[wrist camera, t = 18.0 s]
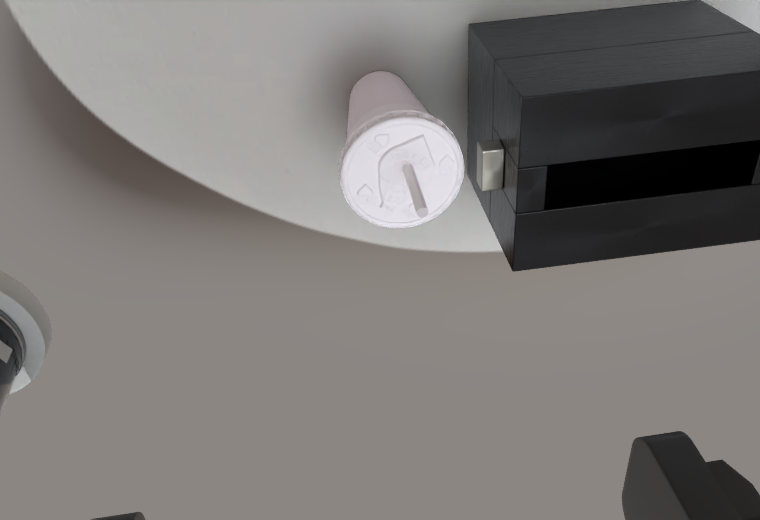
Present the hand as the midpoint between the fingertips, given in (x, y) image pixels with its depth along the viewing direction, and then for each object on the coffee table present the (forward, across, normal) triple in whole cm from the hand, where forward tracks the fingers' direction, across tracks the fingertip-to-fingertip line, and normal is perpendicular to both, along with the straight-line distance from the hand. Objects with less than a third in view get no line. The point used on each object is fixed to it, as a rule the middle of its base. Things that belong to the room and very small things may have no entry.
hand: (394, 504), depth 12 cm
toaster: (+34, -16, +8) cm, 38 cm away
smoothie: (+34, -4, +7) cm, 35 cm away
